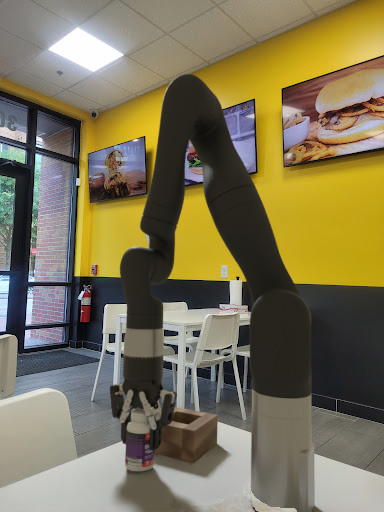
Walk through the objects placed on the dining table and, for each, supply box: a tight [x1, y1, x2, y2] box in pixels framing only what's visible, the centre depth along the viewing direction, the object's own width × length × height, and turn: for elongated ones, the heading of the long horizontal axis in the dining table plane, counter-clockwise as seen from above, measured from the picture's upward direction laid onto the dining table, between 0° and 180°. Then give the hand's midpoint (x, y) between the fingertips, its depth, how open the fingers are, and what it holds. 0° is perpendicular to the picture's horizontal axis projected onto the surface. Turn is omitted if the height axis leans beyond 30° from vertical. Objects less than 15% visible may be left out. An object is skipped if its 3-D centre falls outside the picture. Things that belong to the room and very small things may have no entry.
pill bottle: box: [124, 408, 156, 472], centre depth 69 cm, size 5×5×10 cm
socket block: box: [155, 406, 219, 464], centre depth 79 cm, size 12×12×6 cm
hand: (140, 445), depth 69 cm, fingers closed on pill bottle, 5 cm apart
